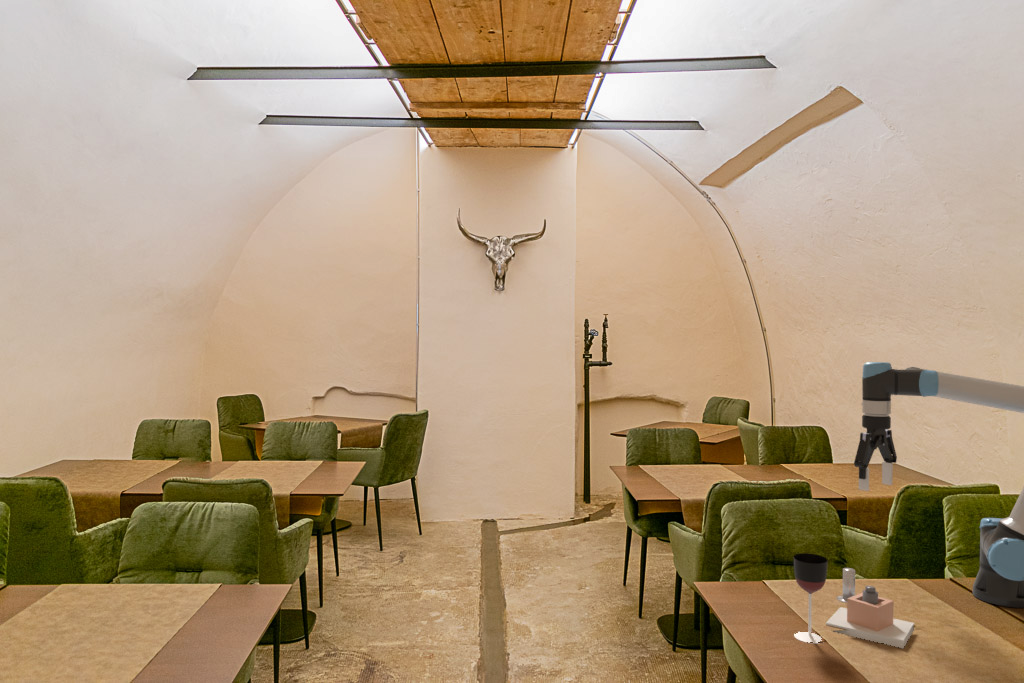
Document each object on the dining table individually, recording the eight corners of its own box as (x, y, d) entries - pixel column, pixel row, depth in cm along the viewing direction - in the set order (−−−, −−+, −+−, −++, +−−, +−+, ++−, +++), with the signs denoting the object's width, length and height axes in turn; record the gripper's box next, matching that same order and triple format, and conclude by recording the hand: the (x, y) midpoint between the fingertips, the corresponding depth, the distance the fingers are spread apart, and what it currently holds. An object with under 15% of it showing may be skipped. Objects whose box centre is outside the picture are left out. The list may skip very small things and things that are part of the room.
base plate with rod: (914, 630, 193) (914, 587, 193) (903, 648, 182) (903, 602, 182) (840, 614, 204) (840, 573, 204) (825, 630, 193) (826, 587, 193)
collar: (862, 614, 199) (863, 592, 199) (893, 624, 192) (893, 600, 192) (847, 621, 194) (847, 598, 194) (877, 631, 188) (877, 607, 188)
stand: (864, 604, 212) (864, 569, 212) (858, 611, 207) (858, 575, 207) (839, 599, 216) (839, 564, 216) (833, 605, 211) (833, 570, 211)
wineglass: (825, 632, 192) (826, 555, 191) (828, 646, 184) (828, 565, 183) (792, 628, 194) (793, 552, 194) (793, 641, 186) (794, 561, 186)
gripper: (884, 411, 229) (884, 480, 229) (841, 416, 214) (840, 490, 214) (909, 413, 223) (909, 484, 223) (867, 418, 208) (866, 495, 208)
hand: (875, 487), depth 219 cm, fingers open, 13 cm apart
